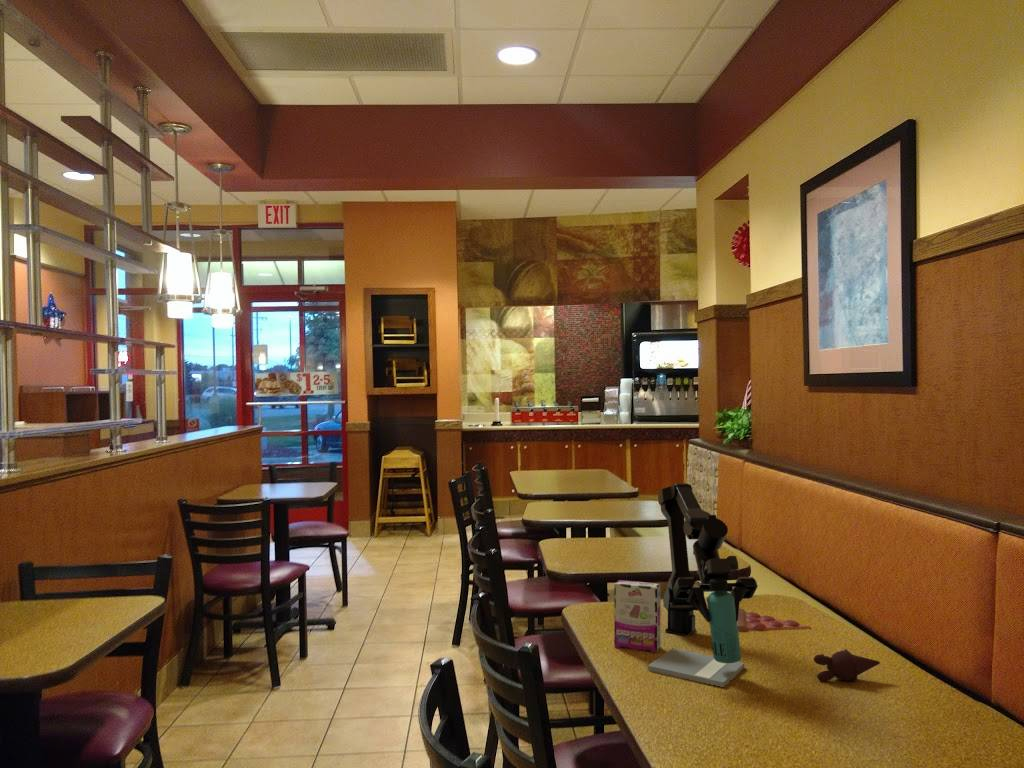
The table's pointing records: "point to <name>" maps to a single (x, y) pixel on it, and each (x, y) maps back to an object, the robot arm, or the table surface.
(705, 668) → the grey flat rectangular block
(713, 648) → the beverage bottle
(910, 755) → the table surface
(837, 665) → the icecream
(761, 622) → the pizza slice
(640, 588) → the candy bar box
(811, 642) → the table surface
